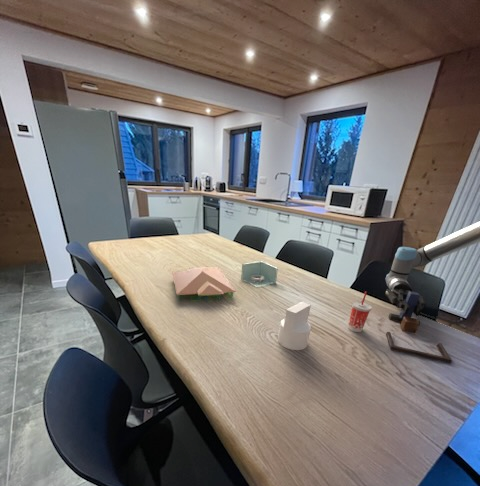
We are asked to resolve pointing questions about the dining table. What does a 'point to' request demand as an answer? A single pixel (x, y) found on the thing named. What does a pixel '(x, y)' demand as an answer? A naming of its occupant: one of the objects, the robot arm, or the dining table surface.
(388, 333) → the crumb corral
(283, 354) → the dining table surface
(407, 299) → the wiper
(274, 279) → the right angle wall
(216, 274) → the house
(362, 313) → the beverage cup
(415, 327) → the orange brown cube
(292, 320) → the base with upright slab
